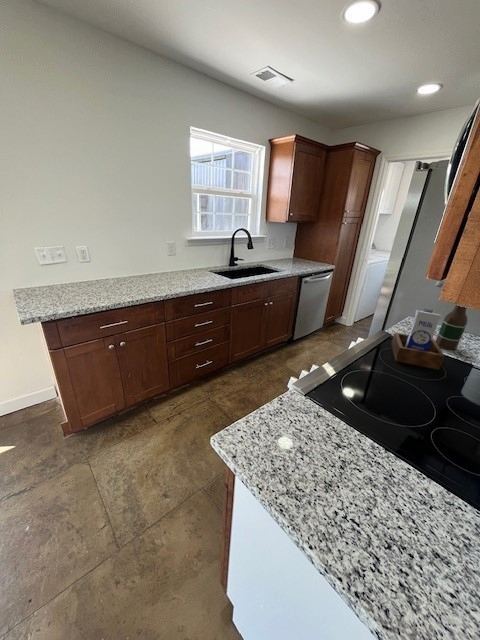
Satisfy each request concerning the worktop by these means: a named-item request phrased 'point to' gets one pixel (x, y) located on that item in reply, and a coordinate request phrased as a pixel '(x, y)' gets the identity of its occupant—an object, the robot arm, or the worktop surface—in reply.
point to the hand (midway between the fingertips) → (453, 294)
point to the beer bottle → (452, 328)
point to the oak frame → (416, 353)
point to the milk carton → (422, 330)
